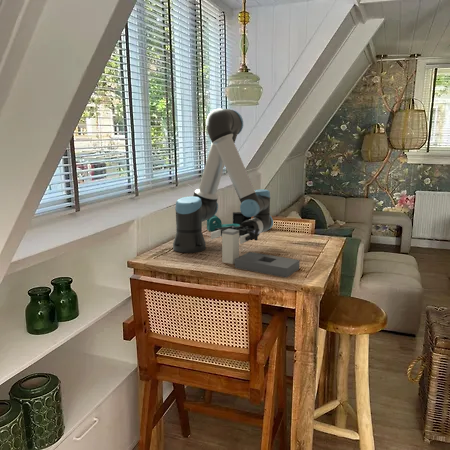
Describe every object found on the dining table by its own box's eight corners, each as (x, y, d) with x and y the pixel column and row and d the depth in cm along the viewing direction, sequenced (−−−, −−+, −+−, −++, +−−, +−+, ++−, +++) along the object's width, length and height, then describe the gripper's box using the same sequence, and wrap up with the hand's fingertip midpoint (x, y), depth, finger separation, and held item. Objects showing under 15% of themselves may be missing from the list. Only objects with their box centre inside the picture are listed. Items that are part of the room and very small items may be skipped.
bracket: (209, 231, 233) (209, 217, 231) (206, 229, 240) (206, 215, 238) (241, 230, 237) (241, 215, 236) (238, 227, 244) (238, 213, 242)
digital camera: (233, 225, 247) (233, 213, 245) (232, 223, 252) (232, 212, 250) (251, 225, 247) (251, 213, 246) (250, 223, 253) (250, 211, 251)
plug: (222, 264, 176) (222, 231, 173) (228, 261, 180) (228, 228, 177) (232, 266, 174) (232, 232, 171) (238, 263, 178) (239, 230, 175)
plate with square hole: (234, 270, 169) (234, 259, 168) (249, 262, 179) (249, 251, 178) (286, 280, 158) (286, 268, 157) (299, 271, 168) (299, 260, 167)
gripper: (276, 240, 184) (253, 251, 166) (227, 232, 197) (200, 243, 179) (277, 222, 182) (253, 232, 165) (227, 216, 195) (199, 225, 178)
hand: (225, 238), depth 172 cm, fingers open, 13 cm apart
